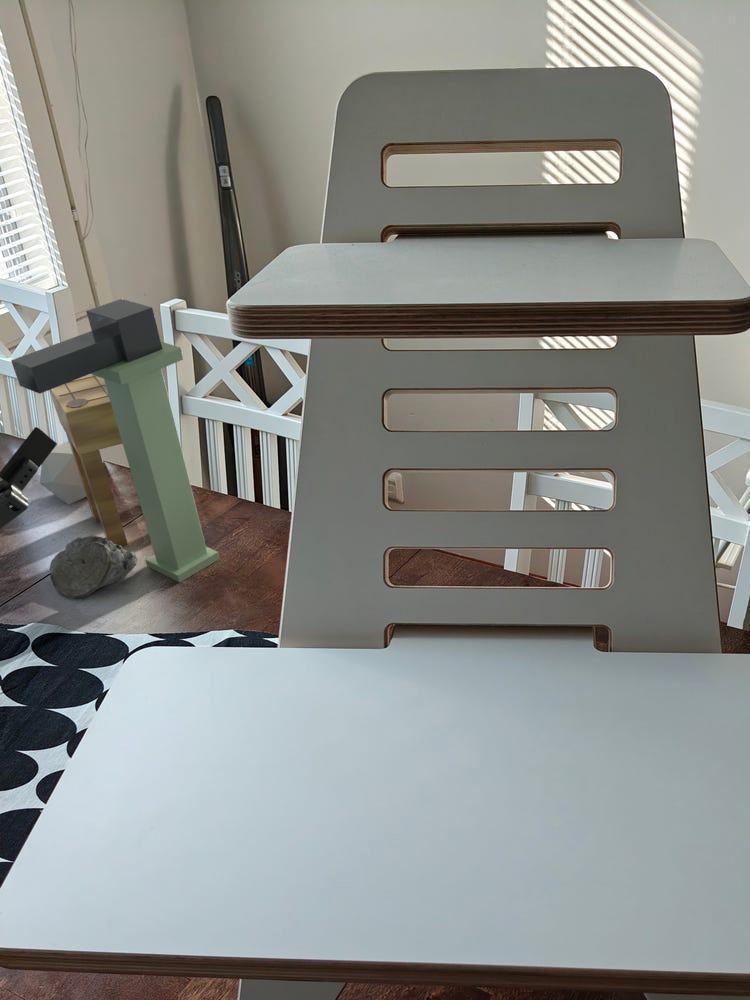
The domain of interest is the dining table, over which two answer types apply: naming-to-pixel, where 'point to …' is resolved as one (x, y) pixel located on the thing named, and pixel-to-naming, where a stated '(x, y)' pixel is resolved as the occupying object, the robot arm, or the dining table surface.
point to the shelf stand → (158, 462)
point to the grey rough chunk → (89, 566)
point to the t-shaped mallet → (92, 347)
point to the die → (62, 475)
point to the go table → (91, 444)
